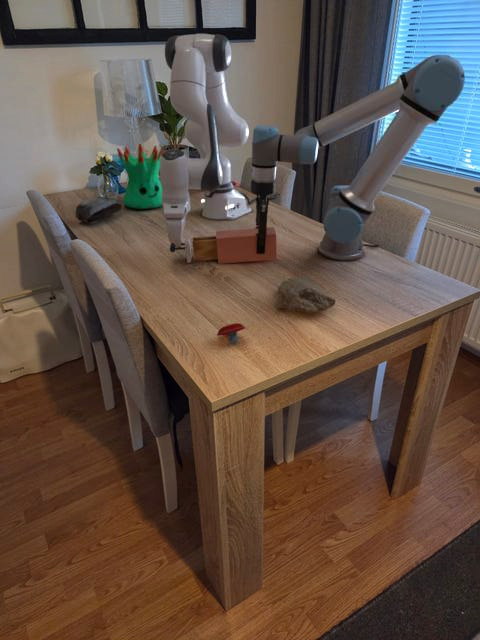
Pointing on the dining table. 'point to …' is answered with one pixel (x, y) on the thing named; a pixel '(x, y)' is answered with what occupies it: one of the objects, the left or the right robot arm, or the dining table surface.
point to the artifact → (302, 296)
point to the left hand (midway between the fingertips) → (178, 246)
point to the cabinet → (244, 246)
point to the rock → (96, 209)
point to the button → (231, 331)
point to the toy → (142, 179)
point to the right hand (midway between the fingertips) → (259, 249)
